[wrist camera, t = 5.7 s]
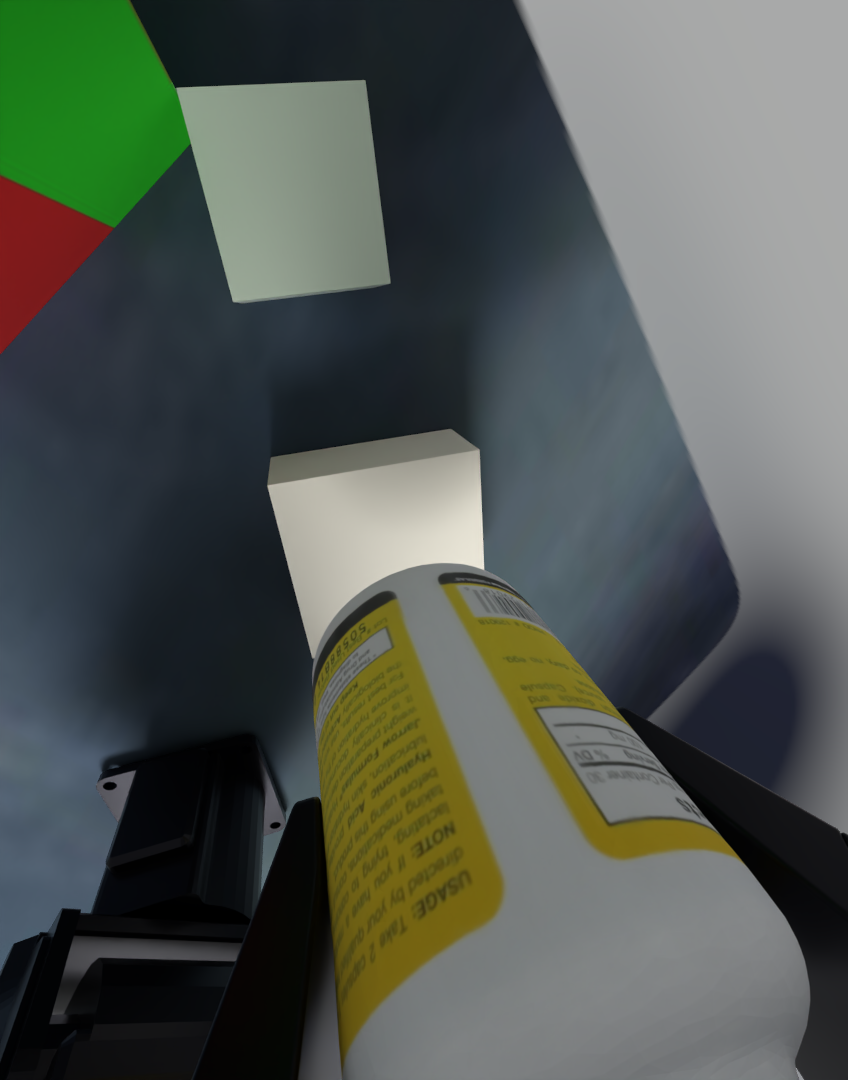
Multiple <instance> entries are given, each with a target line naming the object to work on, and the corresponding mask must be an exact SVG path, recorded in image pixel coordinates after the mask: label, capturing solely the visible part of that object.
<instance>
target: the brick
mask: <svg viewBox="0 0 848 1080" xmlns="http://www.w3.org/2000/svg"><path fill="white" fill-rule="evenodd" d="M176 89H177V93H178V97H179V100H180V104H181V108H182V112H183V115H184V119H185V123H186V127H187V130H188V134H189V138H190V142H191V145H192V149H193V153H194V157H195V161H196V164H197V168H198V172H199V176H200V179H201V183H202V187H203V191H204V194H205V198H206V202H207V206H208V209H209V213H210V217H211V221H212V225H213V228H214V232H215V236H216V240H217V243H218V247H219V251H220V255H221V258H222V262H223V266H224V270H225V273H226V277H227V281H228V285H229V288H230V292H231V296H232V300H233V302H237V303H250V302H258V301H267V300H275V299H284V298H292V297H301V296H309V295H317V294H326V293H334V292H343V291H351V290H360V289H368V288H375V287H379V286H383V285H387V284H391V282H390V274H389V266H388V258H387V250H386V242H385V234H384V226H383V218H382V210H381V202H380V194H379V186H378V178H377V170H376V161H375V153H374V145H373V137H372V129H371V121H370V113H369V105H368V97H367V89H366V81H365V80H354V81H329V82H305V83H280V84H256V85H231V86H207V87H183V88H176Z"/></svg>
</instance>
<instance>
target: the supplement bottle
mask: <svg viewBox="0 0 848 1080" xmlns="http://www.w3.org/2000/svg"><path fill="white" fill-rule="evenodd" d="M312 698H313V711H314V724H315V734H316V744H317V754H318V765H319V777H320V790H321V806H322V820H323V834H324V847H325V860H326V873H327V888H328V900H329V911H330V921H331V934H332V942H333V955H334V973H335V990H336V1004H337V1021H338V1037H339V1050H340V1061H341V1073H342V1080H799V1077H798V1075H797V1072H796V1066H795V1059H796V1056H797V1053H798V1050H799V1048H800V1045H801V1042H802V1039H803V1036H804V1033H805V1030H806V1027H807V1022H808V1015H809V1007H810V985H809V980H808V974H807V969H806V964H805V960H804V957H803V954H802V951H801V948H800V946H799V943H798V941H797V938H796V937H795V935H794V933H793V931H792V929H791V927H790V925H789V923H788V922H787V920H786V918H785V916H784V915H783V914H782V912H781V911H780V910H779V908H778V907H777V906H776V904H775V903H774V902H773V900H772V899H771V898H770V896H769V895H768V894H767V892H766V891H765V890H764V888H763V887H762V886H761V884H760V883H759V882H758V880H757V879H756V878H755V877H754V875H753V874H752V873H751V871H750V870H749V869H748V867H747V866H746V865H745V864H744V863H743V861H742V860H741V859H740V858H739V856H738V855H737V854H736V853H735V852H734V850H733V849H732V848H731V847H730V846H729V845H728V843H727V842H726V841H725V840H724V839H723V838H722V836H721V835H720V834H719V833H718V831H717V830H716V829H715V828H714V827H713V825H712V824H711V823H710V822H709V821H708V820H707V819H706V818H705V816H704V815H703V814H702V813H701V811H700V810H699V809H698V808H697V806H696V805H695V804H694V803H693V801H692V800H691V799H690V798H689V796H688V795H687V794H686V793H685V792H684V791H683V789H682V788H681V787H680V786H679V785H678V784H677V782H676V781H675V780H674V779H673V778H672V776H671V775H670V774H669V773H668V772H667V770H666V769H665V768H664V767H663V765H662V764H661V763H660V762H659V760H658V759H657V758H656V757H655V755H654V754H653V753H652V752H651V751H650V750H649V748H648V747H647V746H646V745H645V744H644V742H643V741H642V740H641V739H640V737H639V736H638V735H637V734H636V733H635V731H634V730H633V729H632V728H631V727H630V725H629V724H628V723H627V722H626V721H625V719H624V718H623V717H622V716H621V715H620V713H619V712H618V711H617V710H616V708H615V707H614V706H613V705H612V704H611V702H610V701H609V700H608V699H607V698H606V696H605V695H604V694H603V693H602V692H601V690H600V689H599V688H598V687H597V685H596V684H595V683H594V682H593V681H592V680H591V678H590V677H589V676H588V675H587V673H586V672H585V671H584V670H583V669H582V667H581V666H580V665H579V664H578V663H577V661H576V660H575V659H574V658H573V657H572V655H571V654H570V653H569V652H568V651H567V649H566V648H565V647H564V646H563V645H562V643H561V642H560V641H559V640H558V638H557V637H556V636H555V634H554V633H553V632H552V631H551V630H550V629H549V627H548V626H547V625H546V624H545V623H544V621H543V620H542V619H541V618H540V617H539V616H538V615H537V613H536V612H535V611H534V610H533V608H532V607H531V606H530V605H529V603H528V602H527V601H526V600H525V599H524V598H523V597H522V596H521V595H520V594H519V593H518V592H517V591H516V590H515V589H514V588H513V587H512V586H510V585H509V584H508V583H507V582H505V581H504V580H502V579H501V578H499V577H497V576H496V575H494V574H492V573H490V572H488V571H485V570H482V569H480V568H477V567H473V566H469V565H465V564H456V563H434V564H426V565H420V566H416V567H411V568H407V569H405V570H402V571H399V572H396V573H394V574H391V575H389V576H386V577H385V578H383V579H381V580H379V581H377V582H375V583H373V584H372V585H370V586H368V587H367V588H365V589H364V590H362V591H361V592H360V593H359V594H357V595H356V596H355V597H354V598H352V599H351V600H350V601H349V602H348V603H347V604H346V605H345V606H344V607H343V608H342V609H341V610H340V611H339V612H338V613H337V615H336V616H335V617H334V618H333V620H332V621H331V623H330V624H329V625H328V627H327V629H326V630H325V632H324V634H323V636H322V638H321V640H320V643H319V645H318V648H317V651H316V655H315V659H314V663H313V671H312Z"/></svg>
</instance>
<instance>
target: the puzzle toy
mask: <svg viewBox="0 0 848 1080" xmlns="http://www.w3.org/2000/svg"><path fill="white" fill-rule="evenodd" d="M190 144H191V142H190V138H189V134H188V130H187V127H186V123H185V119H184V115H183V112H182V108H181V104H180V100H179V97H178V93H177V91H176V89H175V87H174V85H173V83H172V81H171V79H170V77H169V75H168V73H167V71H166V69H165V67H164V65H163V64H162V62H161V60H160V58H159V56H158V54H157V52H156V50H155V48H154V46H153V44H152V42H151V40H150V38H149V36H148V34H147V32H146V30H145V28H144V26H143V25H142V23H141V21H140V19H139V17H138V15H137V13H136V11H135V9H134V7H133V5H132V3H131V1H130V0H0V354H1V353H2V352H3V351H4V350H5V349H6V347H7V346H8V345H9V344H10V343H11V342H12V341H13V340H14V339H15V337H16V336H17V335H18V334H19V333H20V332H21V331H22V330H23V329H24V328H25V326H26V325H27V324H28V323H29V322H30V321H31V320H32V319H33V318H34V316H35V315H36V314H37V313H38V312H39V311H40V310H41V309H42V308H43V306H44V305H45V304H46V303H47V302H48V301H49V300H50V299H51V298H52V297H53V295H54V294H55V293H56V292H57V291H58V290H59V289H60V288H61V287H62V285H63V284H64V283H65V282H66V281H67V280H68V279H69V278H70V277H71V275H72V274H73V273H74V272H75V271H76V270H77V269H78V268H79V267H80V266H81V264H82V263H83V262H84V261H85V260H86V259H87V258H88V257H89V256H90V254H91V253H92V252H93V251H94V250H95V249H96V248H97V247H98V246H99V244H100V243H101V242H102V241H103V240H104V239H105V238H106V237H107V236H108V235H109V233H110V232H111V231H112V230H113V229H114V228H115V227H116V226H117V225H118V223H119V222H120V221H121V220H122V219H123V218H124V217H125V216H126V215H127V213H128V212H129V211H130V210H131V209H132V208H133V207H134V206H135V205H136V204H137V202H138V201H139V200H140V199H141V198H142V197H143V196H144V195H145V194H146V192H147V191H148V190H149V189H150V188H151V187H152V186H153V185H154V184H155V182H156V181H157V180H158V179H159V178H160V177H161V176H162V175H163V174H164V172H165V171H166V170H167V169H168V168H169V167H170V166H171V165H172V164H173V163H174V161H175V160H176V159H177V158H178V157H179V156H180V155H181V154H182V153H183V151H184V150H185V149H186V148H187V147H188V146H189V145H190Z"/></svg>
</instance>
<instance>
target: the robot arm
mask: <svg viewBox="0 0 848 1080" xmlns="http://www.w3.org/2000/svg"><path fill="white" fill-rule="evenodd" d="M616 710H617V711H618V712H619V713H620V715H621V716H622V717H623V718H624V719H625V721H626V722H627V723H628V724H629V725H630V727H631V728H632V729H633V730H634V731H635V733H636V734H637V735H638V736H639V737H640V739H641V740H642V741H643V742H644V744H645V745H646V746H647V747H648V748H649V750H650V751H651V752H652V753H653V754H654V755H655V757H656V758H657V759H658V760H659V762H660V763H661V764H662V765H663V767H664V768H665V769H666V770H667V772H668V773H669V774H670V775H671V776H672V778H673V779H674V780H675V781H676V782H677V784H678V785H679V786H680V787H681V788H682V789H683V791H684V792H685V793H686V794H687V795H688V796H689V798H690V799H691V800H692V801H693V803H694V804H695V805H696V806H697V808H698V809H699V810H700V811H701V813H702V814H703V815H704V816H705V818H706V819H707V820H708V821H709V822H710V823H711V824H712V825H713V827H714V828H715V829H716V830H717V831H718V833H719V834H720V835H721V836H722V838H723V839H724V840H725V841H726V842H727V843H728V845H729V846H730V847H731V848H732V849H733V850H734V852H735V853H736V854H737V855H738V856H739V858H740V859H741V860H742V861H743V863H744V864H745V865H746V866H747V867H748V869H749V870H750V871H751V873H752V874H753V875H754V877H755V878H756V879H757V880H758V882H759V883H760V884H761V886H762V887H763V888H764V890H765V891H766V892H767V894H768V895H769V896H770V898H771V899H772V900H773V902H774V903H775V904H776V906H777V907H778V908H779V910H780V911H781V912H782V914H783V915H784V916H785V918H786V920H787V922H788V923H789V925H790V927H791V929H792V931H793V933H794V935H795V937H796V938H797V941H798V943H799V946H800V948H801V951H802V954H803V957H804V960H805V964H806V969H807V974H808V980H809V985H810V1007H809V1015H808V1022H807V1027H806V1030H805V1033H804V1036H803V1039H802V1042H801V1045H800V1048H799V1050H798V1053H797V1056H796V1059H795V1066H796V1068H797V1069H798V1071H799V1072H800V1074H801V1076H802V1077H803V1079H804V1080H848V835H847V834H845V833H840V831H839V830H838V829H836V828H835V827H833V826H831V825H829V824H828V823H826V822H824V821H822V820H821V819H819V818H817V817H816V816H814V815H812V814H810V813H809V812H807V811H805V810H803V809H802V808H800V807H798V806H796V805H794V804H793V803H791V802H789V801H788V800H786V799H784V798H782V797H781V796H779V795H777V794H775V793H774V792H772V791H770V790H768V789H766V788H765V787H763V786H761V785H760V784H758V783H756V782H754V781H753V780H751V779H749V778H747V777H746V776H744V775H742V774H740V773H739V772H737V771H735V770H734V769H732V768H730V767H728V766H726V765H725V764H723V763H721V762H720V761H718V760H716V759H714V758H713V757H711V756H709V755H707V754H705V753H704V752H702V751H700V750H699V749H697V748H695V747H693V746H691V745H690V744H688V743H686V742H685V741H683V740H681V739H679V738H677V737H676V736H674V735H672V734H670V733H669V732H667V731H665V730H664V729H662V728H660V727H658V726H656V725H655V724H653V723H651V722H650V721H648V720H646V719H644V718H643V717H641V716H639V715H637V714H636V713H634V712H632V711H630V710H629V709H627V708H624V707H616ZM244 746H248V747H244ZM96 788H97V790H98V792H99V794H100V795H101V797H102V798H103V800H104V801H105V803H106V804H107V806H108V808H109V809H110V811H111V812H112V814H113V815H114V817H115V818H116V820H117V822H118V826H117V829H116V832H115V835H114V838H113V841H112V844H111V847H110V850H109V853H108V856H107V859H106V868H105V871H104V874H103V877H102V880H101V883H100V886H99V889H98V892H97V895H96V899H95V902H94V905H93V908H92V911H91V914H89V913H80V912H81V909H68V908H62V909H61V911H60V912H59V914H58V916H57V918H56V919H55V921H54V923H53V924H52V926H51V928H50V929H49V931H48V932H40V933H39V935H36V936H34V937H31V938H28V939H25V940H23V941H20V942H17V943H14V945H13V946H12V948H11V950H10V952H9V954H8V955H7V958H6V960H5V962H4V964H3V967H2V969H1V971H0V1080H342V1073H341V1061H340V1050H339V1037H338V1021H337V1004H336V990H335V973H334V955H333V942H332V934H331V921H330V911H329V900H328V888H327V873H326V860H325V847H324V834H323V820H322V806H321V801H320V799H319V798H318V797H312V798H308V799H305V800H302V801H298V802H297V803H296V804H295V805H294V806H293V808H292V811H291V814H290V816H289V819H288V822H287V824H286V814H285V812H284V809H283V806H282V803H281V801H280V798H279V795H278V793H277V790H276V787H275V784H274V782H273V779H272V776H271V774H270V771H269V768H268V765H267V763H266V760H265V757H264V755H263V752H262V749H261V746H260V744H259V741H258V739H257V737H255V736H254V735H250V734H246V735H241V736H237V737H233V738H229V739H226V740H222V741H218V742H214V743H210V744H206V745H203V746H199V747H195V748H191V749H187V750H183V751H180V752H176V753H172V754H168V755H164V756H160V757H157V758H153V759H149V760H145V761H141V762H137V763H134V764H130V765H126V766H122V767H118V768H114V769H111V770H107V771H105V772H103V773H102V774H101V775H100V778H99V780H98V783H97V785H96ZM285 825H286V827H285ZM284 827H285V830H284V832H283V835H282V838H281V840H280V843H279V846H278V849H277V851H276V854H275V857H274V859H273V862H272V865H271V867H270V870H269V873H268V875H267V878H266V881H265V883H264V886H263V889H262V892H261V875H262V854H263V836H265V835H268V834H271V833H275V832H278V831H280V830H282V829H283V828H284Z"/></svg>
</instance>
